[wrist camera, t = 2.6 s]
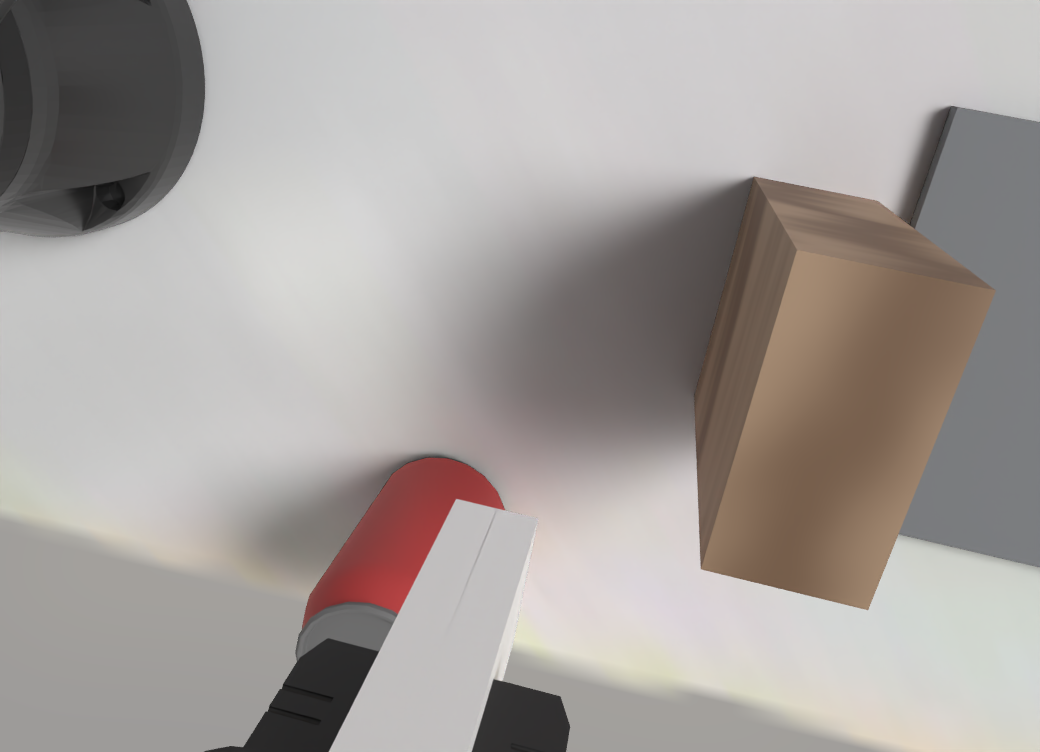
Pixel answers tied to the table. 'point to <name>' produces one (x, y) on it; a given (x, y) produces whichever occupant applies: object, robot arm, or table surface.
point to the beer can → (388, 553)
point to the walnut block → (825, 389)
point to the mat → (988, 340)
